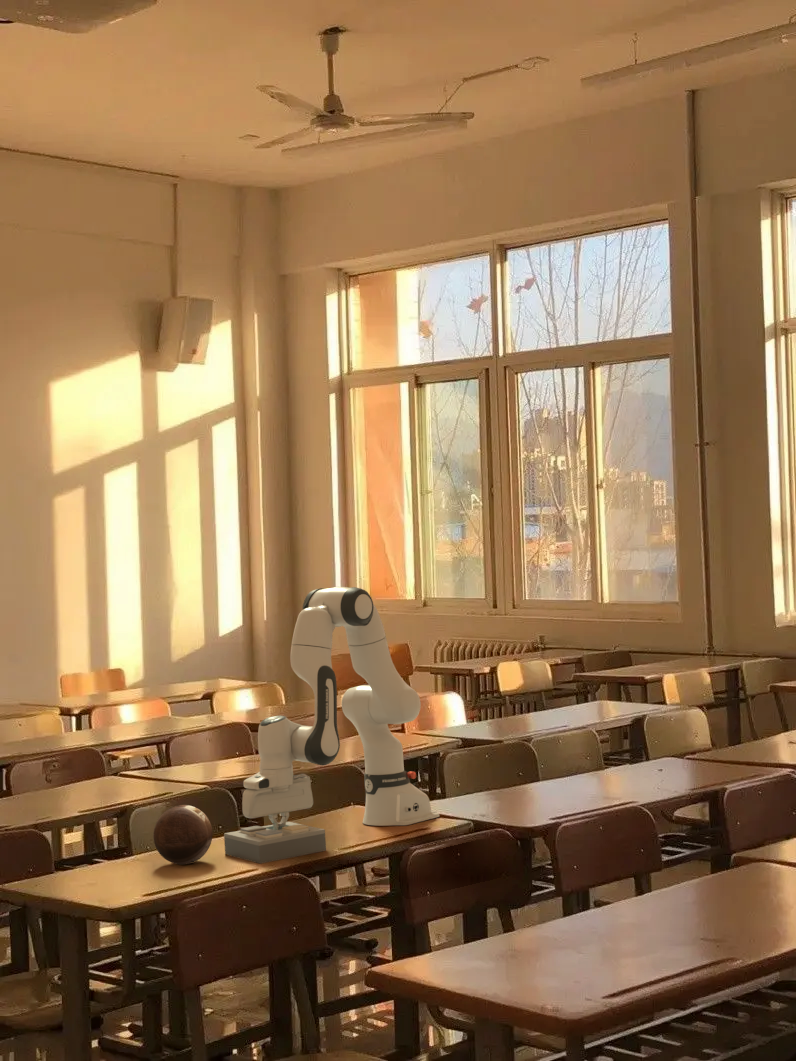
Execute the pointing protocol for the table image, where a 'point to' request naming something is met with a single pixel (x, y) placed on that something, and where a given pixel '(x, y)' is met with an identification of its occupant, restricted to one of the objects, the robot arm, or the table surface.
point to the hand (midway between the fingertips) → (279, 829)
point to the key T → (295, 829)
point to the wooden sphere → (182, 834)
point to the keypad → (275, 844)
